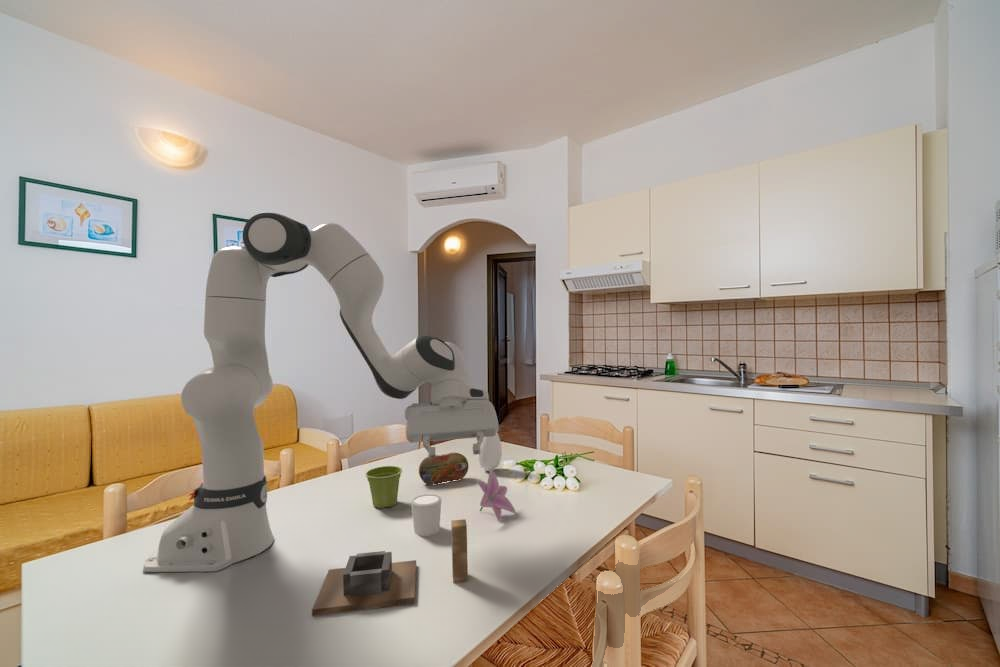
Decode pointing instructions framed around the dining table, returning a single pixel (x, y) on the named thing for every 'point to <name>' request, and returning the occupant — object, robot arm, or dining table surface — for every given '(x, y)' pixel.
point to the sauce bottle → (490, 452)
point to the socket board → (367, 584)
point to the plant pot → (384, 485)
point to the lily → (494, 495)
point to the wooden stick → (459, 551)
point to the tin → (443, 468)
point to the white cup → (426, 514)
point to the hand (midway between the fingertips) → (454, 455)
